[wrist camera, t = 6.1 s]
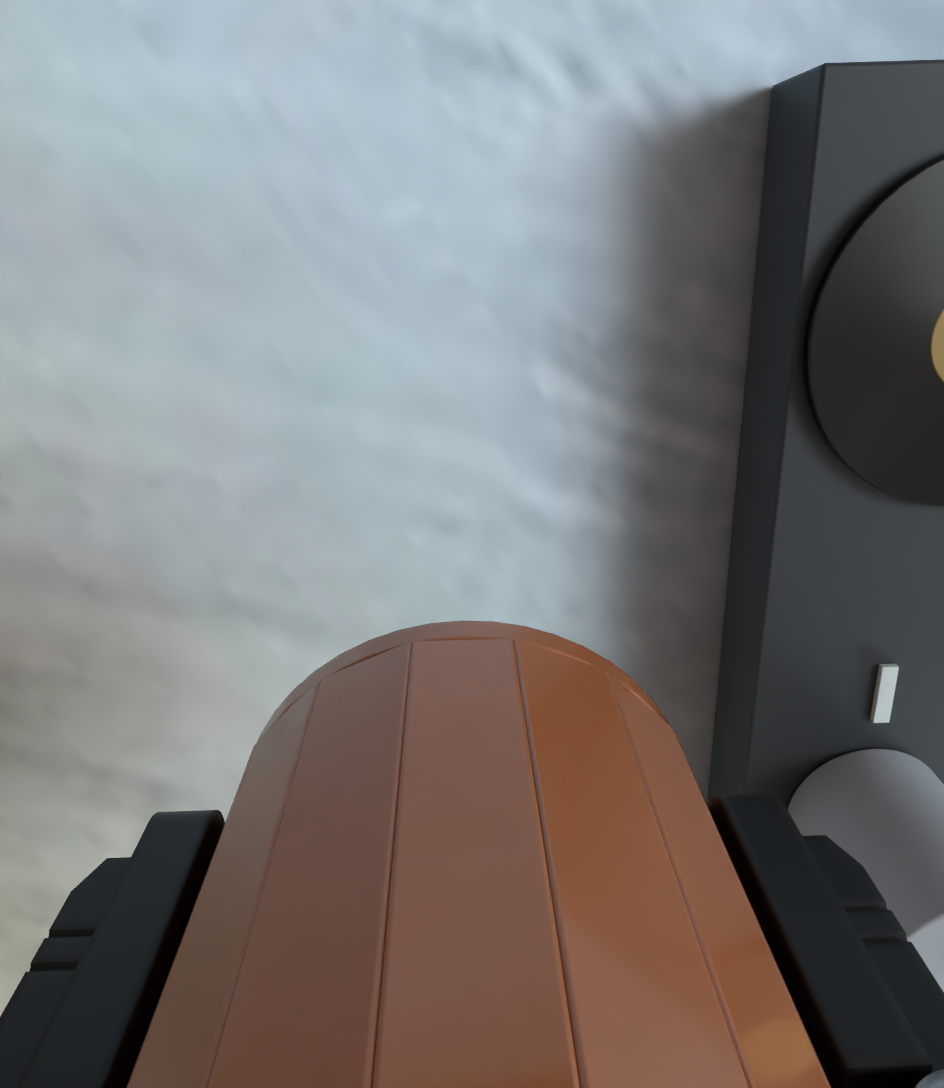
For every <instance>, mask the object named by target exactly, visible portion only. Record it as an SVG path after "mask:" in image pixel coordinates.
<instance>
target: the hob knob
mask: <svg viewBox="0 0 944 1088" xmlns="http://www.w3.org/2000/svg"><path fill="white" fill-rule="evenodd" d="M788 812H789V814H790V815H791V817H792V819H793V821H794V822H795V824H796V826H797V828H798V829H799V831H800V833H801V835H802V836H812V835H826V836H827V837H829V838H830V839H831V840H832V841H833V842H835V843H836V844H837V845H838V846H839V847H841V848H842V849H843V850H844V851H846V852H847V853H848V854H849V855H850V856H852V857H853V858H854V859H855V860H856V861H858V862H859V863H860V864H861V865H863V867H864V868H865V870H866V872H867V873H868V875H869V876H870V878H871V879H872V881H873V883H874V884H875V886H876V887H877V889H878V890H879V892H880V893H881V895H882V897H883V898H884V900H885V901H886V907H887V909H888V910H891V911H892V912H893V914H894V915H895V917H896V918H897V920H898V922H899V923H900V925H901V926H902V928H903V929H904V931H905V933H906V938H907V941H908V942H912V944H913V945H914V947H915V948H916V950H917V951H918V953H919V954H920V956H921V958H922V959H923V961H924V962H925V964H926V965H927V967H928V969H929V970H930V972H931V973H932V975H933V976H934V978H935V979H936V981H937V983H938V984H939V986H940V987H941V989H942V990H943V992H944V784H943V783H942V782H941V781H940V780H939V778H938V777H937V776H936V775H935V774H934V773H933V771H932V770H931V769H930V768H929V767H928V766H927V765H925V764H924V763H923V762H922V761H920V760H918V759H917V758H915V757H913V756H910V755H908V754H906V753H902V752H899V751H895V750H888V749H865V750H859V751H854V752H851V753H847V754H844V755H841V756H839V757H837V758H834V759H832V760H830V761H829V762H827V763H825V764H823V765H822V766H820V767H819V768H817V769H816V770H815V771H814V772H812V773H811V774H810V775H809V776H808V777H807V778H806V779H805V780H804V781H803V782H802V783H801V785H800V786H799V787H798V789H797V790H796V791H795V793H794V795H793V797H792V799H791V801H790V804H789V807H788Z"/></svg>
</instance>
